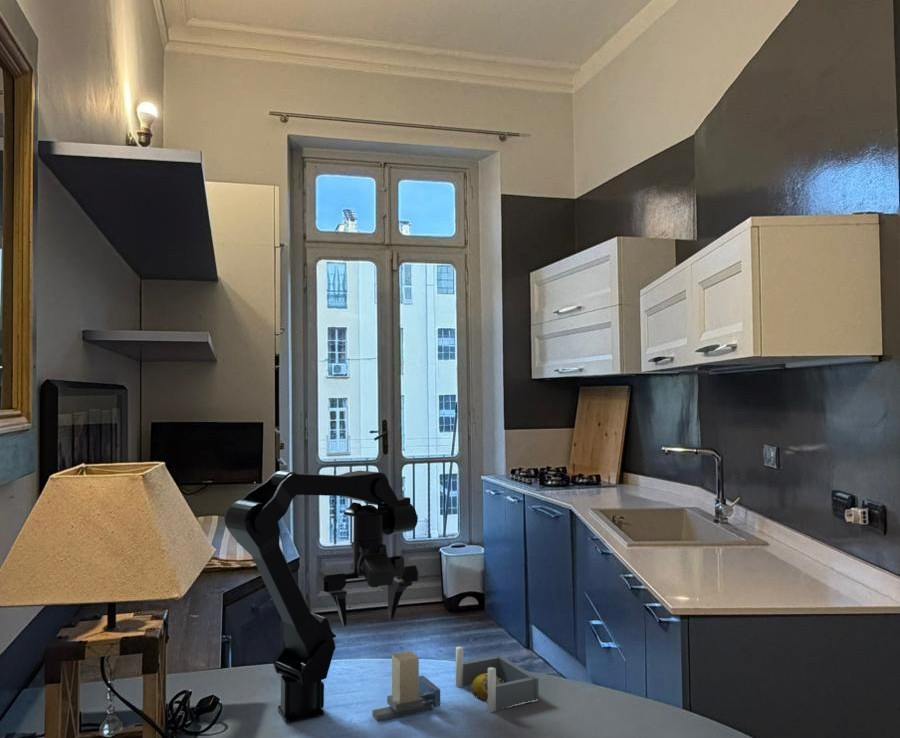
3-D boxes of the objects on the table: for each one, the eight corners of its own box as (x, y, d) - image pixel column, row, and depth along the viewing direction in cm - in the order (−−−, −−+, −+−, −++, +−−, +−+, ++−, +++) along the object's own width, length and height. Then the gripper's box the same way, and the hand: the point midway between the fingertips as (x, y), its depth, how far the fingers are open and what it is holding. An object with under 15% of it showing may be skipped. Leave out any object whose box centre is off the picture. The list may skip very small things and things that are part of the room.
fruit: (497, 711, 121) (497, 689, 122) (460, 698, 127) (460, 677, 127) (524, 696, 128) (524, 675, 128) (487, 684, 133) (487, 664, 133)
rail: (377, 721, 117) (377, 715, 117) (372, 716, 119) (372, 710, 119) (431, 710, 121) (431, 704, 121) (426, 704, 123) (426, 699, 123)
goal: (490, 712, 120) (490, 670, 120) (454, 685, 132) (454, 647, 132) (539, 701, 125) (538, 661, 125) (500, 676, 136) (500, 639, 137)
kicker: (399, 715, 116) (399, 664, 116) (384, 699, 122) (384, 651, 123) (440, 706, 119) (440, 657, 120) (423, 692, 126) (423, 645, 126)
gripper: (333, 550, 121) (332, 642, 120) (431, 541, 129) (431, 627, 128) (315, 539, 131) (314, 624, 130) (407, 531, 139) (407, 611, 138)
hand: (368, 622), depth 131 cm, fingers open, 9 cm apart
